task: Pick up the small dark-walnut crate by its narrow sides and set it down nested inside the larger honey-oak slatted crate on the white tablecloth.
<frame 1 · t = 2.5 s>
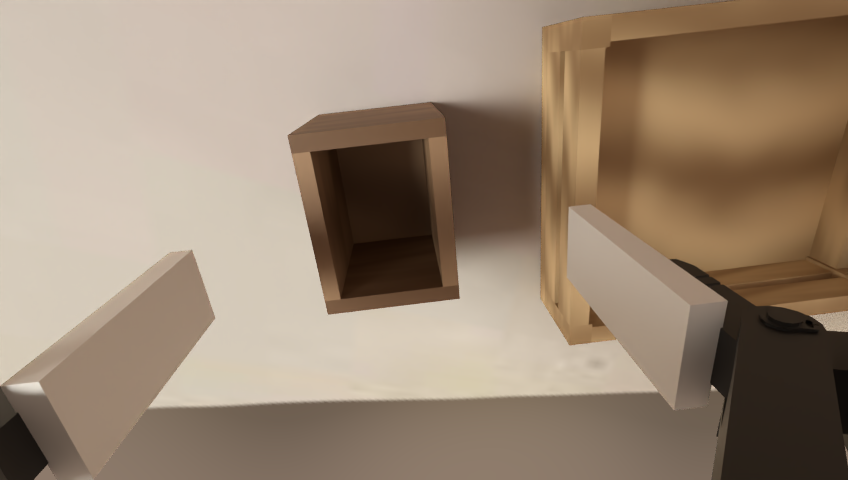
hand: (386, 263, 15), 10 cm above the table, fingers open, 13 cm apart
walnut crate: (385, 181, 24), on the table
oak crate: (693, 162, 25), on the table
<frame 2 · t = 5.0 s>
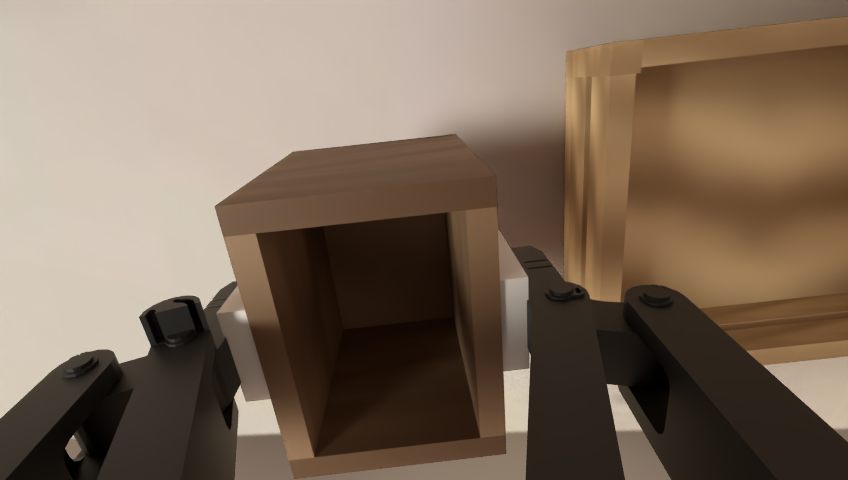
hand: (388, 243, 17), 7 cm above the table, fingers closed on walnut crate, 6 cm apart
walnut crate: (388, 243, 17), point 7 cm above the table, touching gripper
oak crate: (725, 189, 23), on the table
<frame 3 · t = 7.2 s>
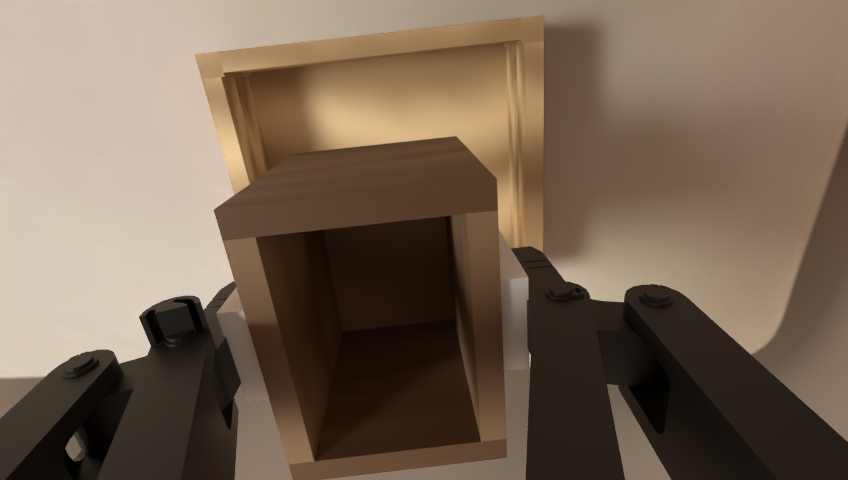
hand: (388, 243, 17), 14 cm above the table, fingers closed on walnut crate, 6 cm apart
walnut crate: (388, 245, 17), point 13 cm above the table, touching gripper
oak crate: (392, 167, 29), on the table
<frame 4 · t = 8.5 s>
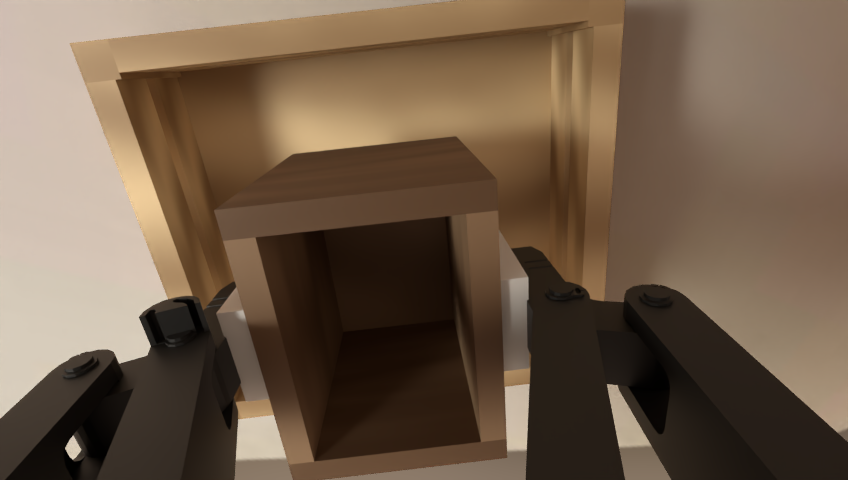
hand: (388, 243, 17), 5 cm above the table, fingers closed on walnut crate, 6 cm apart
walnut crate: (388, 245, 17), point 5 cm above the table, touching gripper
oak crate: (387, 203, 21), on the table
when the fingers open (1 cm above the table, at t = 9.6 s): walnut crate stays where it is, resting on oak crate.
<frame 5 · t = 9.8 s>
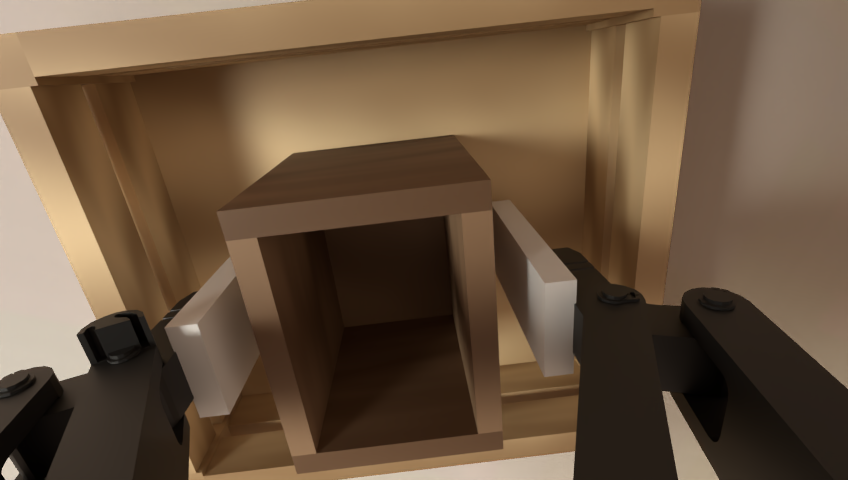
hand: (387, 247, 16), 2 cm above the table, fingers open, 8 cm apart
walnut crate: (388, 242, 17), point 1 cm above the table, touching oak crate
oak crate: (389, 231, 18), on the table
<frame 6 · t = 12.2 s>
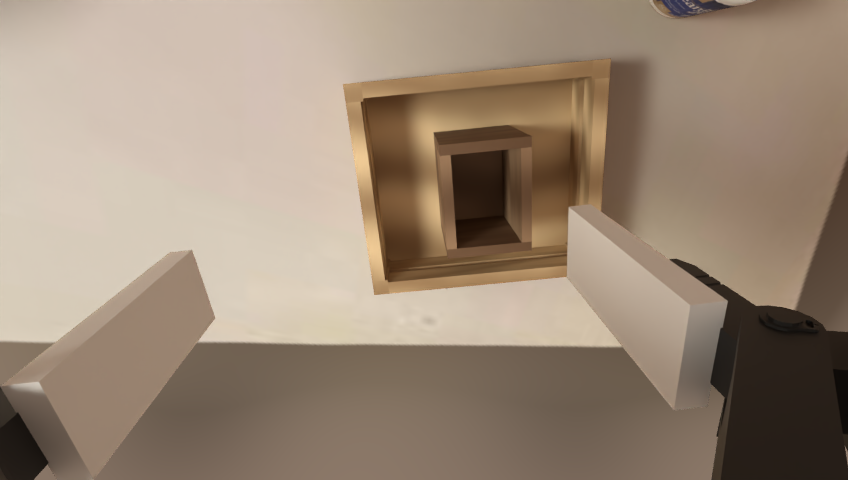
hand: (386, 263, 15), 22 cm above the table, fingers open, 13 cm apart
walnut crate: (473, 177, 35), point 1 cm above the table, touching oak crate
oak crate: (472, 173, 36), on the table
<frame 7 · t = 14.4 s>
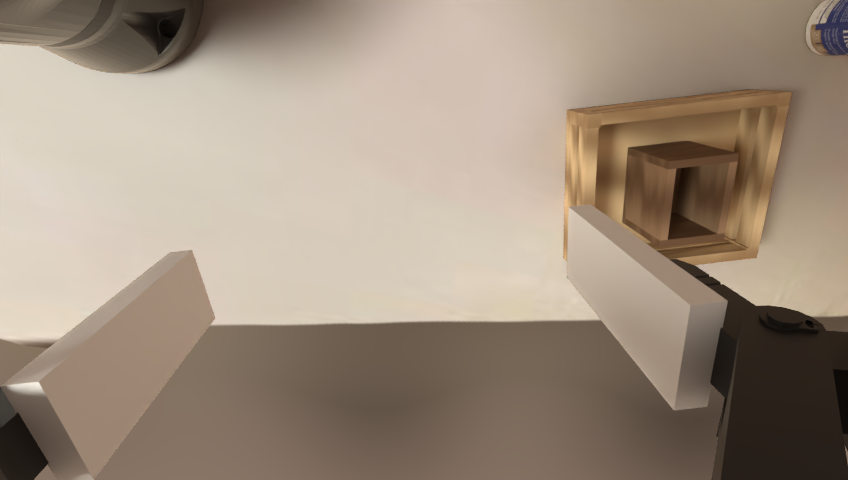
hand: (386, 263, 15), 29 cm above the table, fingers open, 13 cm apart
pill bottle: (829, 25, 40), on the table
walnut crate: (653, 182, 44), point 1 cm above the table, touching oak crate
oak crate: (649, 179, 44), on the table
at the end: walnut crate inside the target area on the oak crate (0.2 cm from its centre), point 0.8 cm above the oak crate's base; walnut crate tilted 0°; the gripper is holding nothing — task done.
